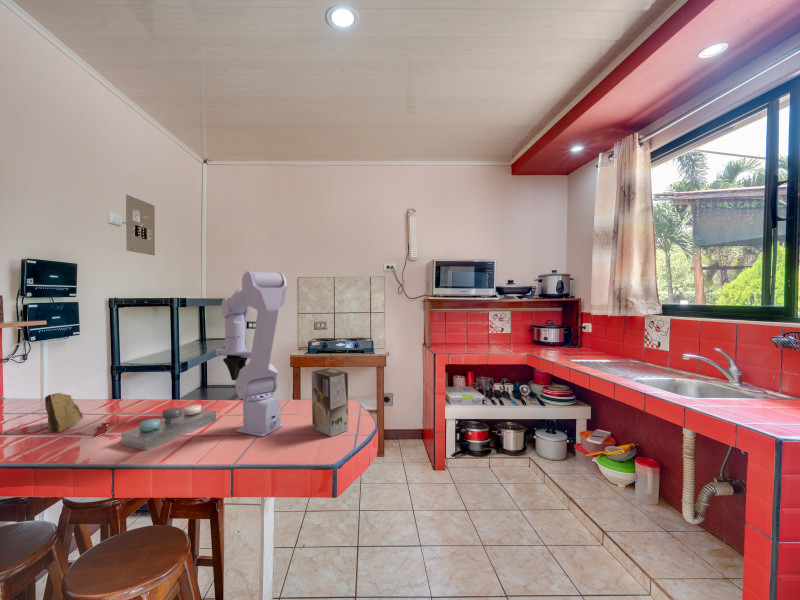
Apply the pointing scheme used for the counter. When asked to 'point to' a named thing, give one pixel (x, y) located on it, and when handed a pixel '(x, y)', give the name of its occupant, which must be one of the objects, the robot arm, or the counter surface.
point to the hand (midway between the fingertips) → (235, 379)
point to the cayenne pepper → (101, 429)
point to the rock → (61, 412)
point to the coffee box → (330, 401)
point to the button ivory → (192, 410)
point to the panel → (167, 430)
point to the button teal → (149, 425)
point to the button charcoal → (172, 415)
